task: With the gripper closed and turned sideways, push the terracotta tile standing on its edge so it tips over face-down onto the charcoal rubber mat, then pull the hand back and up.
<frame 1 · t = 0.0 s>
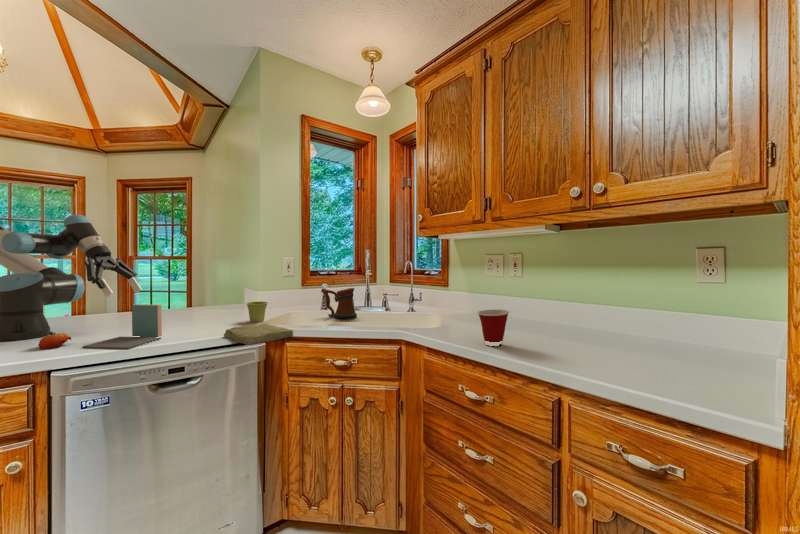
hand: (125, 293, 140), 15 cm above the worktop, tool tilted 35°, fingers open, 13 cm apart
plant pot: (257, 321, 164), on the worktop
plastic cup: (492, 345, 123), on the worktop
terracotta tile: (147, 336, 131), on the worktop
folded olive cloth: (257, 338, 133), on the worktop
mug: (339, 317, 176), on the worktop
charcoal mat: (124, 343, 121), on the worktop
sweet potato: (55, 347, 117), on the worktop
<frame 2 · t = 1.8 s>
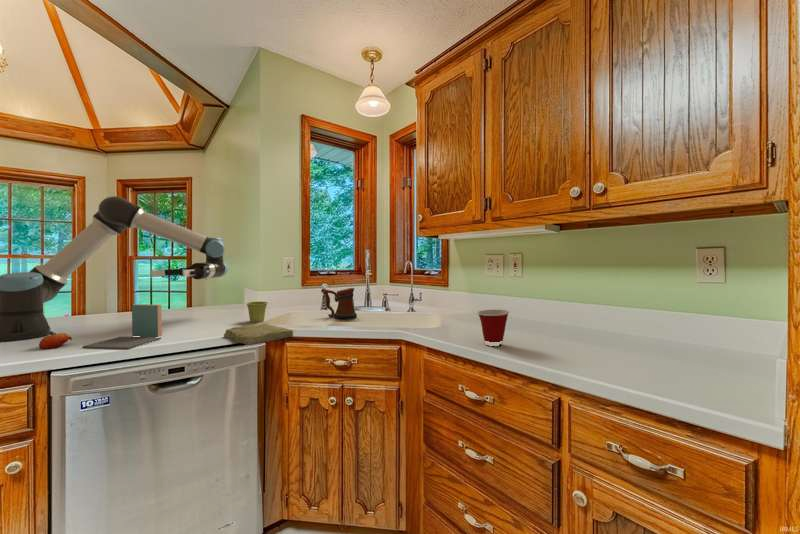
hand: (167, 273, 141), 23 cm above the worktop, tool horizontal, fingers open, 13 cm apart
nothing on the worktop moved.
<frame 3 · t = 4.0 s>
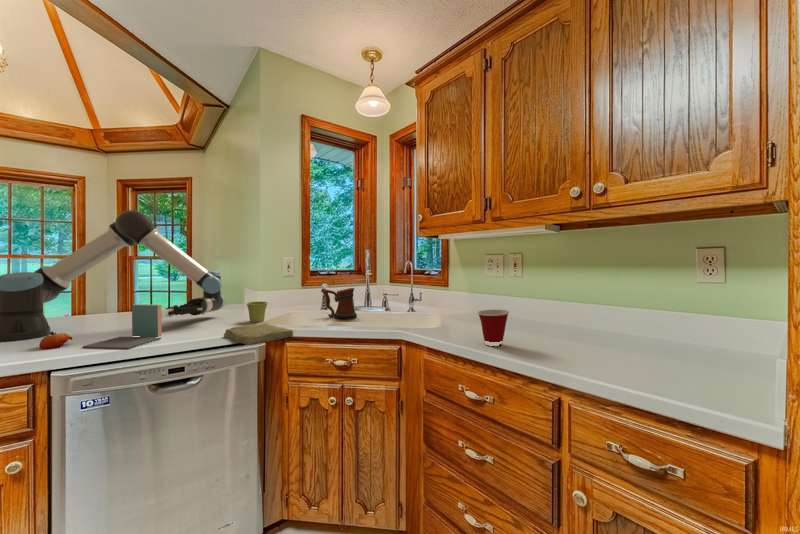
hand: (160, 314, 137), 7 cm above the worktop, tool horizontal, fingers closed
nothing on the worktop moved.
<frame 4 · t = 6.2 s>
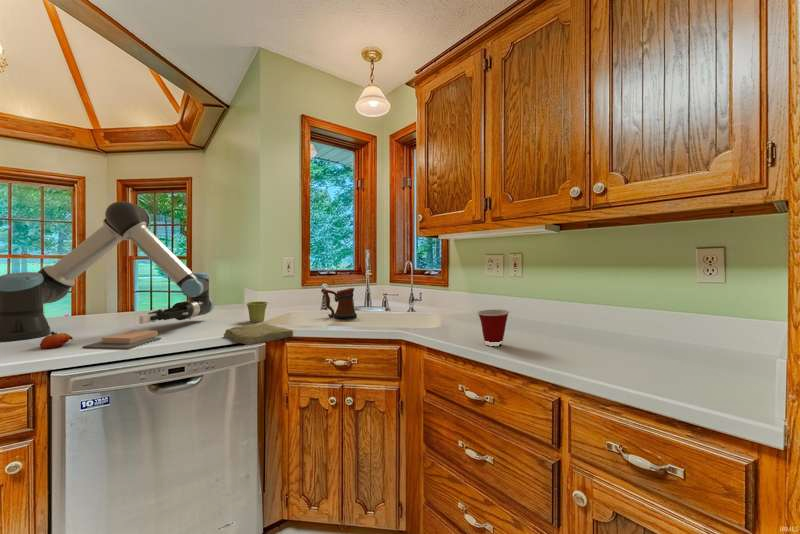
hand: (141, 319, 128), 7 cm above the worktop, tool horizontal, fingers closed
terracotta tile: (144, 333, 130), point 2 cm above the worktop, tilted 90°, touching charcoal mat
everything else where it was.
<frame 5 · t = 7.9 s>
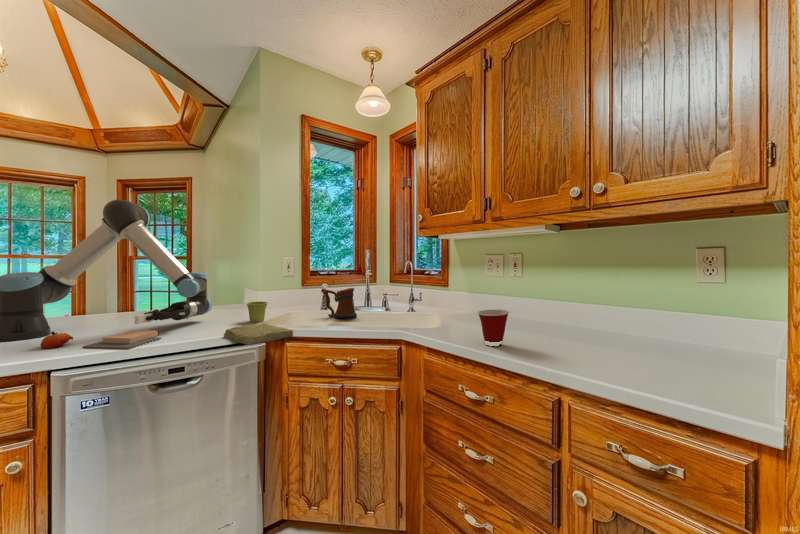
hand: (136, 320, 126), 7 cm above the worktop, tool horizontal, fingers closed
nothing on the worktop moved.
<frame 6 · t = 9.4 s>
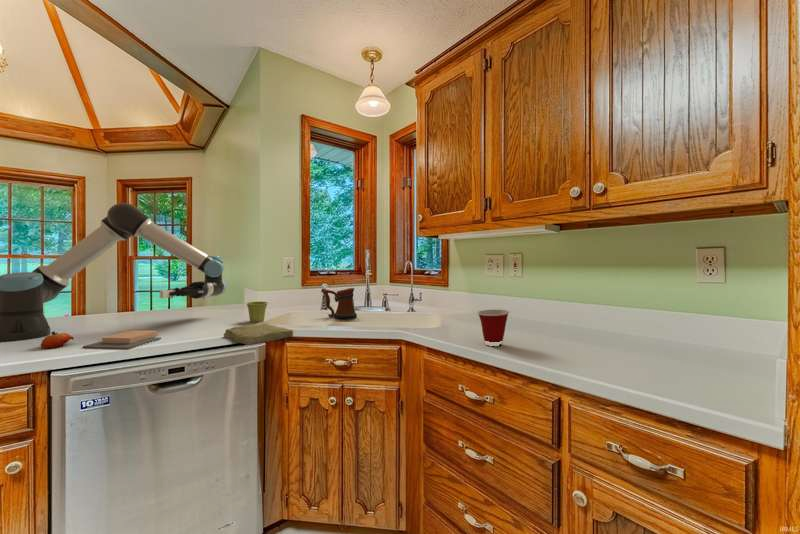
hand: (161, 294, 138), 15 cm above the worktop, tool horizontal, fingers closed
nothing on the worktop moved.
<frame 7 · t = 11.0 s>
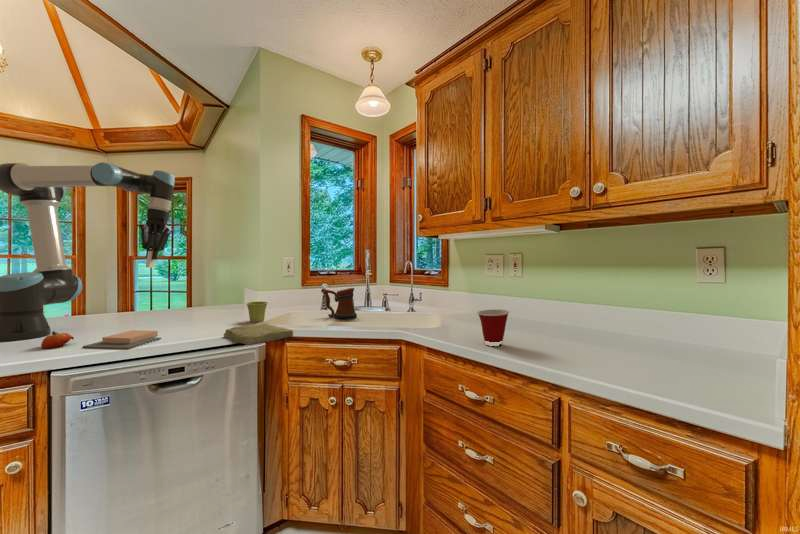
hand: (150, 267, 142), 26 cm above the worktop, tool pointing down, fingers closed
nothing on the worktop moved.
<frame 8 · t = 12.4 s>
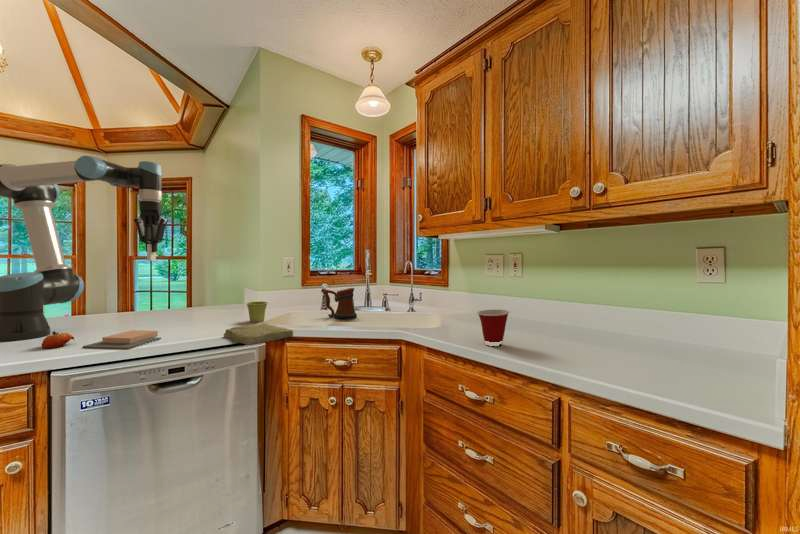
hand: (151, 260, 142), 28 cm above the worktop, tool pointing down, fingers closed
nothing on the worktop moved.
at the end: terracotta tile tilted 90°; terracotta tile touching charcoal mat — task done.
